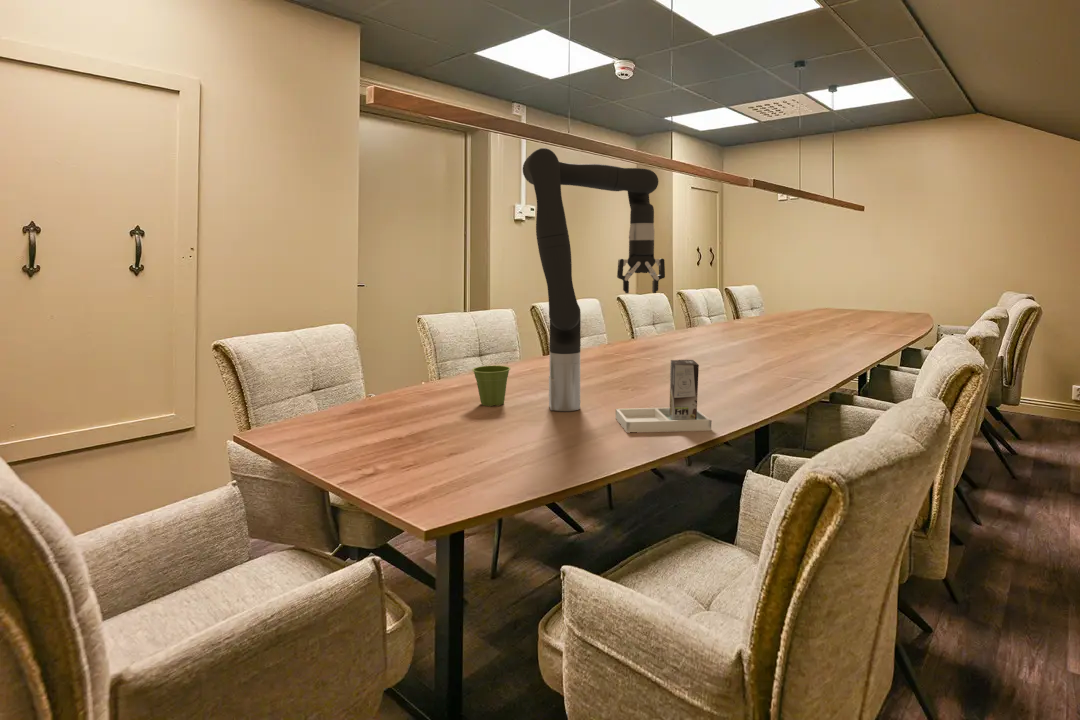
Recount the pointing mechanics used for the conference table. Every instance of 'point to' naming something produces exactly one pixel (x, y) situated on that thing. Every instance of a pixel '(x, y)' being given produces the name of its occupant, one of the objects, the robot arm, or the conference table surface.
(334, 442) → the conference table surface
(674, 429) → the tray
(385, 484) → the conference table surface
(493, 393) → the plant pot
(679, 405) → the coffee box
